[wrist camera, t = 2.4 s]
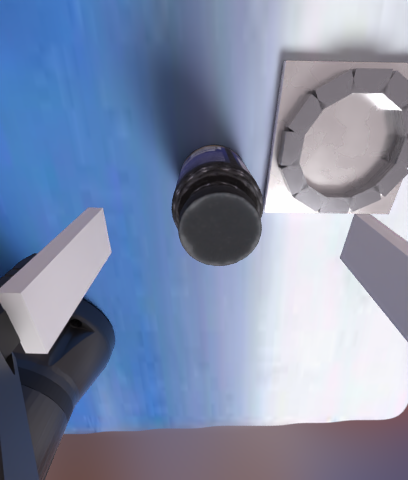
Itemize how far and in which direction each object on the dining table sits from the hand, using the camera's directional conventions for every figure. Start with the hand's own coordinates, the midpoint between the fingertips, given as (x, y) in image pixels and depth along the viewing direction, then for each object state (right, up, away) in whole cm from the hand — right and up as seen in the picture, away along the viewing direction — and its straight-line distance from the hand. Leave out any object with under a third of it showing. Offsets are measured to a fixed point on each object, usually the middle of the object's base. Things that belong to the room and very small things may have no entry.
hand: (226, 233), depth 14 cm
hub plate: (+11, +8, +9) cm, 16 cm away
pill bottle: (0, +6, +10) cm, 12 cm away
